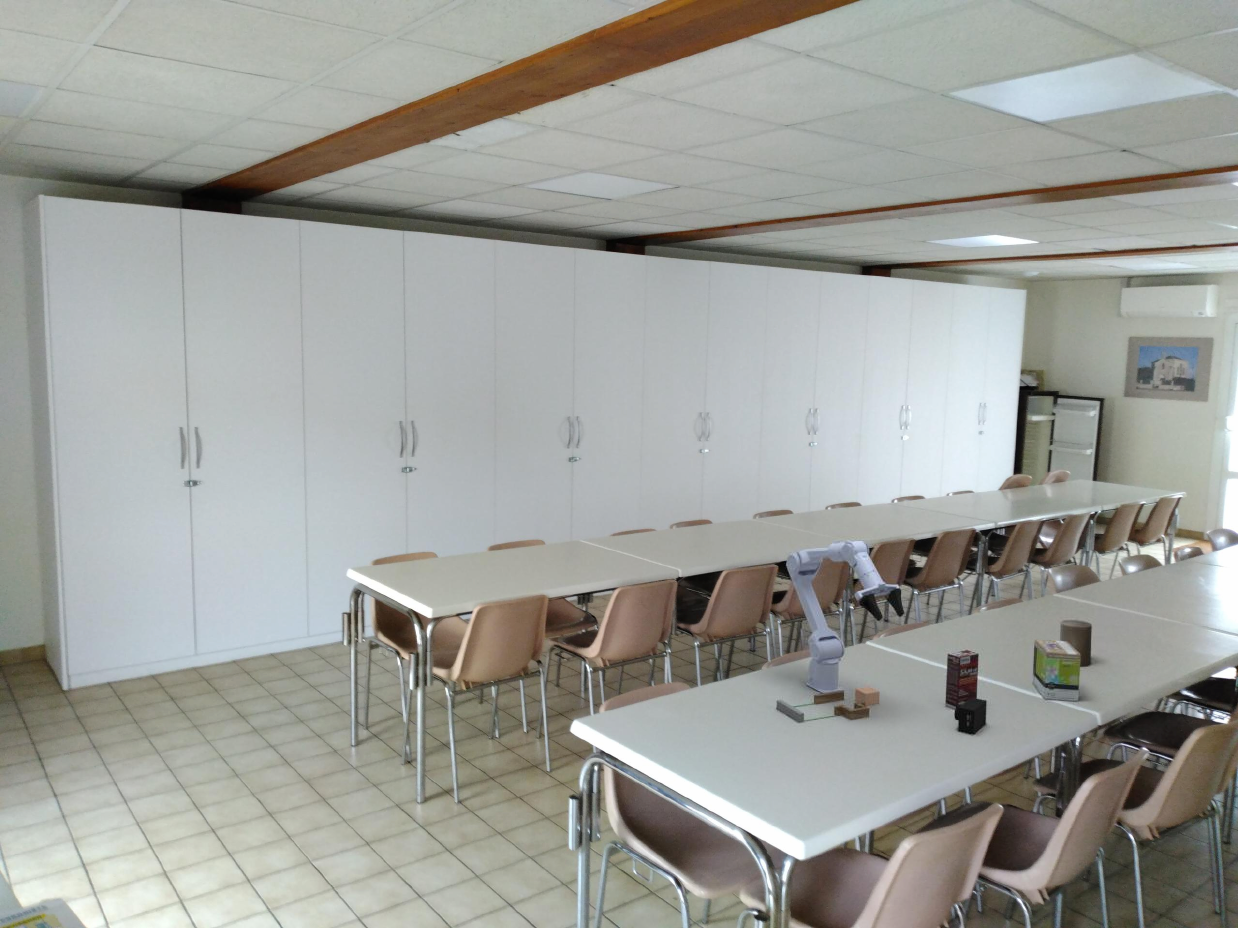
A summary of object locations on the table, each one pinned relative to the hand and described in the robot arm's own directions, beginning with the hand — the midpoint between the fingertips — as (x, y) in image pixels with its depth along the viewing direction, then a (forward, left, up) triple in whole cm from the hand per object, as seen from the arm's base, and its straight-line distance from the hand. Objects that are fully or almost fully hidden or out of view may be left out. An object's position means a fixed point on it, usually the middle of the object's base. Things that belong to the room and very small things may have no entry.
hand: (891, 617), depth 256 cm
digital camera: (+14, +16, -30) cm, 37 cm away
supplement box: (0, +26, -30) cm, 39 cm away
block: (-13, +2, -29) cm, 32 cm away
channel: (-11, -8, -29) cm, 32 cm away
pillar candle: (-18, +92, -30) cm, 98 cm away
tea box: (+2, +61, -30) cm, 68 cm away
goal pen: (-13, -19, -29) cm, 37 cm away
